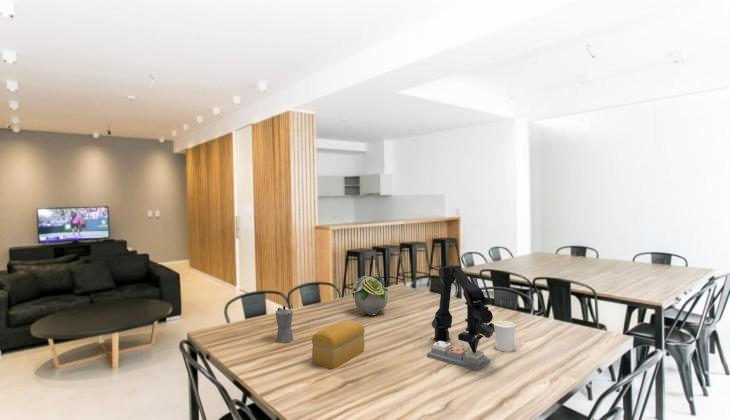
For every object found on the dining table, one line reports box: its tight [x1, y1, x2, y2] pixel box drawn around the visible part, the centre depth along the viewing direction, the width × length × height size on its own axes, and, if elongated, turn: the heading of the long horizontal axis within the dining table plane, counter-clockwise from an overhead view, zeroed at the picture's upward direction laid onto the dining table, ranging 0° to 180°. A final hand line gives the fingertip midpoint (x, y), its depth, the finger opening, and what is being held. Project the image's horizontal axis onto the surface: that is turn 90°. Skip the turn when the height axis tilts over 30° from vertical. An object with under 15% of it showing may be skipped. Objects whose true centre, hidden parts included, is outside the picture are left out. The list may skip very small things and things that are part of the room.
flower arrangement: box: [350, 275, 389, 316], centre depth 253 cm, size 25×25×24 cm
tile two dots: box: [432, 341, 452, 351], centre depth 184 cm, size 6×6×3 cm
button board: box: [426, 346, 491, 372], centre depth 179 cm, size 25×12×4 cm, turn 49°
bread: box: [311, 319, 365, 369], centre depth 183 cm, size 24×13×15 cm, turn 146°
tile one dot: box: [465, 348, 485, 360], centre depth 173 cm, size 6×6×3 cm
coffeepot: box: [275, 305, 294, 344], centre depth 208 cm, size 15×9×18 cm, turn 33°
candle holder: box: [493, 320, 516, 353], centre depth 191 cm, size 10×10×12 cm
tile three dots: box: [449, 346, 468, 356], centre depth 179 cm, size 6×6×3 cm
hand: (474, 352), depth 173 cm, fingers closed, pressing on tile one dot
